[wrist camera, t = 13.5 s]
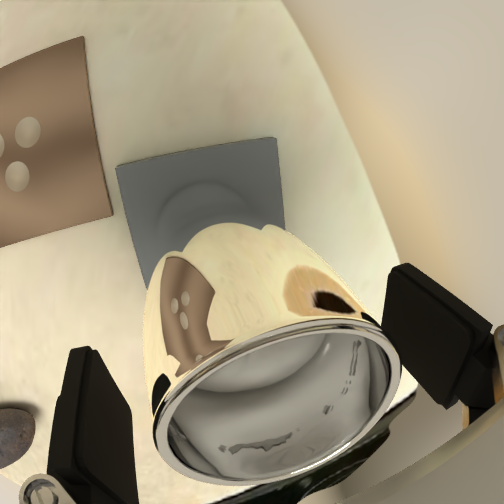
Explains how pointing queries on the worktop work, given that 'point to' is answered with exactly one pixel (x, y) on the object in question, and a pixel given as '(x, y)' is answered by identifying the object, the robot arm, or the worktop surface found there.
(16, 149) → the dot tile
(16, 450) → the perforated stone tool
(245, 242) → the beer glass
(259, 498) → the worktop surface
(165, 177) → the rubber mat
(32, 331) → the worktop surface
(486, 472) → the robot arm
